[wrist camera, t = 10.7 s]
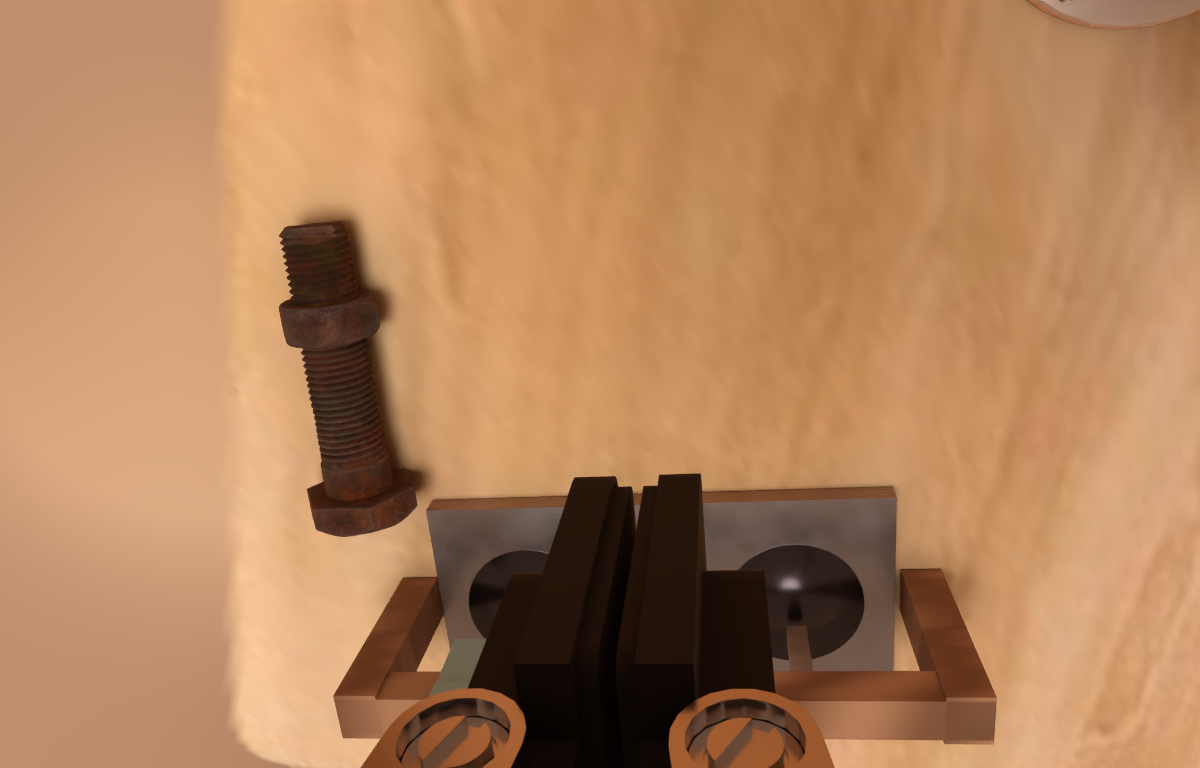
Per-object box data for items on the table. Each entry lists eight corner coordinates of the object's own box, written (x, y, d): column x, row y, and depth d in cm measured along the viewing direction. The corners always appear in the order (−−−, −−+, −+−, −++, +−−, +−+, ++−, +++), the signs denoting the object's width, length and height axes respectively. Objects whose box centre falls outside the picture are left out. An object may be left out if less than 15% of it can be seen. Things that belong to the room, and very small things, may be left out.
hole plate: (892, 486, 46) (896, 498, 44) (888, 684, 50) (892, 699, 48) (432, 500, 49) (425, 511, 48) (464, 684, 53) (458, 698, 52)
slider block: (554, 576, 48) (508, 730, 37) (563, 646, 49) (521, 814, 38) (481, 577, 48) (414, 729, 38) (492, 646, 50) (430, 812, 39)
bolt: (357, 212, 46) (402, 483, 51) (253, 225, 44) (309, 505, 49) (376, 222, 41) (424, 524, 45) (259, 238, 39) (321, 549, 44)
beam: (940, 568, 47) (996, 697, 38) (938, 623, 48) (992, 761, 39) (403, 577, 51) (333, 695, 42) (412, 627, 52) (346, 753, 43)
